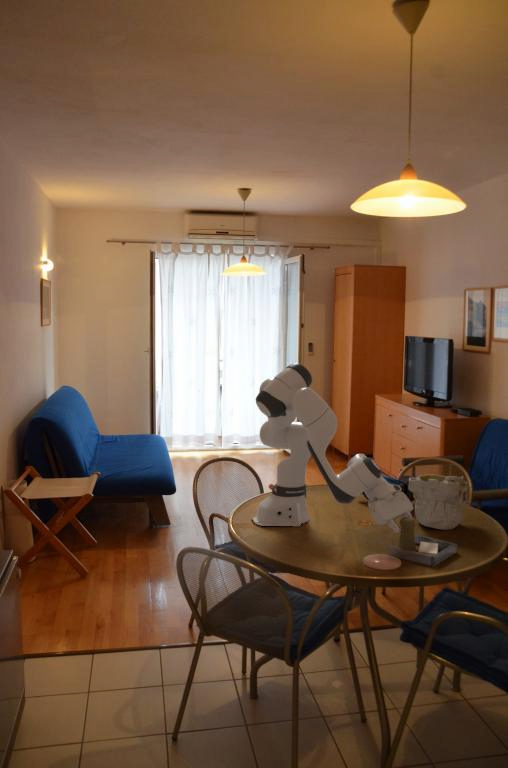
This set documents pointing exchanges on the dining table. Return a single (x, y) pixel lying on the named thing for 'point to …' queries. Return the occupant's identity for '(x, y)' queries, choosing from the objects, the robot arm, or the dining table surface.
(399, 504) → the robot arm
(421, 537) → the grey u-shaped frame
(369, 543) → the dining table surface
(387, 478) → the lantern
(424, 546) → the offcut stack
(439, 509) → the ceramic vessel
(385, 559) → the pink round disc
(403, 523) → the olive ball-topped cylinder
